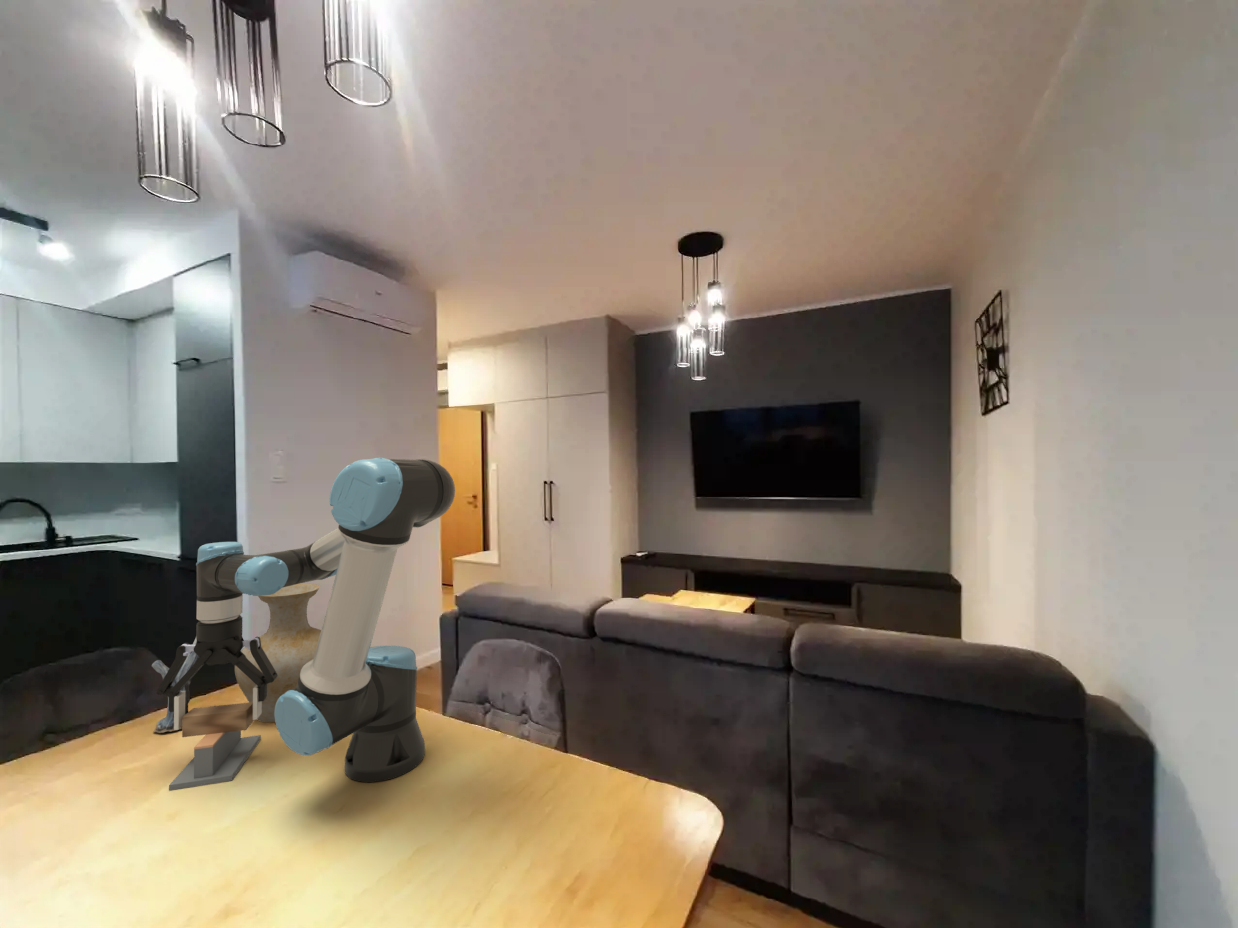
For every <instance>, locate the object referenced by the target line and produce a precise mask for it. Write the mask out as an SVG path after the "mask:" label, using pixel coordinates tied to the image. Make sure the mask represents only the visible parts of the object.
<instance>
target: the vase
mask: <svg viewBox="0 0 1238 928" xmlns="http://www.w3.org/2000/svg"><path fill="white" fill-rule="evenodd" d="M320 587H321V585H320V584H319V585H318V584H314V583H300V584H295V585H292V586H287V587H283V588H281V589H280V590H279V591H277V592H276V593H274V594H271V595H266V596H263V595H259V596H257V597H258V598H259V600H260V601H261V602H263V603H265V604H267V606H268V608H269V617H270V618H269V625H268V628H267V630H266V631H265V633H264V634H262V635H260V636H259V637H260V640H261V647H262V649H263V650H264V652H265V654H266V656H267V657H268V659H269V661H270V662H271V664H272V666H273V668H274V669H275V671H276V673H277V675H278V676H277V677H276V679H275V680H274V681H273V682H272V683H268V684H267V697H266V699H265V700H264V701H262V714H261V715H260V716H259V717H258V719H256V720H257V721H259V722H263V723H275V714H274V713H275V705H276V702H277V700H278V699H279V697H280V696H282V695H283V694H285V693H286V692H287V691H289V690H294V689H295V688H296V686H297V683H298V679H299V675H300V672H301V669H302V668H303V666H304V665H305V664H306V663H307V662H309V661H311V660H313V659H314V656H315V652H316V648H317V644H318V641H319V637H320V633H321V629H320V628H316V627H314V626H311V625H310V623H309V620H308V604H309V602H310V599H311V598H313V597H314V596H315V595H316V594H317V592H318V591H319V589H320ZM240 651H241V652H242V653H243V654H244V655H245V656H246V658H247V659H248V660H249V661H250V662H251V663H252V664H253V665H254V666H255V667H256V668H258V669H259V670H260V671H261V669H260V668H259V666H258V664H257V663H256V661H255V659H254V658H253V656H252V654H251V651H250V650H248V649H247V647H245V646H244V647H243V648H242V649H241V650H240ZM261 672H262V671H261ZM234 674H235V675H234V676H235V678H236V683H237V684H238V686H239V688H240V690H241V692H242V694H243V695H244V696H245V698H246V700H247V701H248V702H253V688H254V687H255V686H256V684H255V683H254V682H253V681H252V680H251V679H250V678H249V677H248V676H247V675H245V674H244V673H243V672H242V671H241V670H240V669H239V668H238V667H237V666H234Z"/></svg>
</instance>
